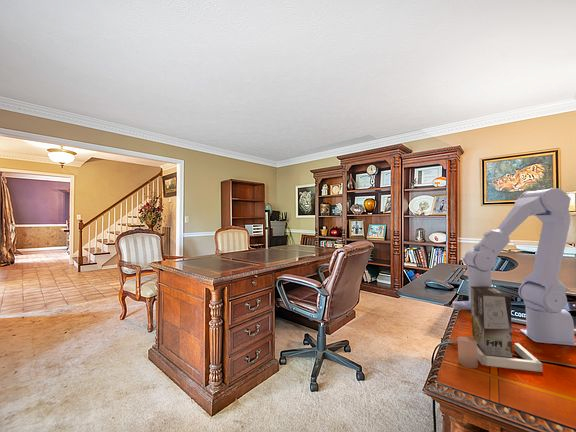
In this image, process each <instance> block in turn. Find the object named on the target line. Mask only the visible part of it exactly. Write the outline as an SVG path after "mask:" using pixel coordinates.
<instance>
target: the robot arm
mask: <svg viewBox="0 0 576 432" xmlns="http://www.w3.org/2000/svg"><path fill="white" fill-rule="evenodd" d="M570 203H571V197H570V196H569V195H568V194H567V193H566V191H564V190H563V189H561V188H559V187H558V188H557V187H552V188H547V189H540V190H533V191H532V190H529V191H528V190H527V191H524V192H523V193H522V194H520V196H519V198H517V199H516V200H515V201H514V206H513V207H512V209H511V210H510V211H509V212H508V213H507V215H506V216H505V218H504V219H503V220H502V221H501V223H500V224H499V225H498V227H497V228H496V229H490V230H488V231H486V232H484V234H483V238H482V239H481V240H480V241H478V243H477V244H475V245H474V246H473V249H469V250H468V251H466V253H465V254H464V257H462V262H463V263H464V265H465V266H466V267H467V268H466V270H467V281H468V283H467V284H468V285H467V286H468V300H462V301H457V300H456V301H455V300H454V301H452V308H453V309H454V310H457V311H458V310H466V311H467V310H468V312H469V313H470V314H471V316H472V312H471V289H470V286H475V287H479V286H487V287H493V286H492V269H493V268H495V266H496V264H497V258H498V256H499V255H500V253H501V252H502V251H503V250H504V249H505V248H506V247H507V246H508V244H510V242H511V240H510V235H511V234H512V233H513V232H514V231H515V230H516V229H518V227H520V225H522V224H523V223H524V222H525V221H526V220H527V219H528V218H529V217H531V216H534V217H536V218H537V219H538V220H539V221H541V223H542V225H541V230H540V234H539V240H538V244H537V249H536V253H535V259H534V263H533V267H532V268H533V269H532V272H531V273H530V274H527V275H526V276H524V278H523V281H522V284H520V286H519V287H518V296H519V297H520V298H521V299H522V300H523V304H524V306H525V321H526V322H525V323H526V328H525V329H524V328H521V329H519V331H520V332H521V333H522V334H524V335H525V336H526V337H528V338H529V339H531V340H532V342H534V343H542V344H543V343H544V344H552V345H553V344H554V345H564V346H566V345H567V346H573V347H575V346H576V341H575V340H576V339H575V325H574V320H573V319H574V318H573V316H572V315H571V313H570V312H569V311H568V310H566V309H565V308H566V307H567V304H568V298H567V295H566V292H567V291H566V290H567V287H566V286H565V284H563V282H562V281H561V280H560V279H559V275H560V271H561V267H562V263H563V258H564V252H565V248H566V243H567V239H568V235H569V234H568V233H569V229H570V225H571V219H572V218H571V214H570V210H569V209H570Z"/></svg>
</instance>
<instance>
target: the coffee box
mask: <svg viewBox="0 0 576 432" xmlns="http://www.w3.org/2000/svg"><path fill="white" fill-rule="evenodd" d="M470 289H471V312H472V315H471V327H472V328H471V330H472V332H471V333H472V338H473V339H475V340H476V341H477V344H478V345H479V346H478V345H477V346H478V348H479V349H480V350H481V351H482V353H483V354H484V355H485V356H495V357H504V358H513V334H512V333H513V329H512V327H513V326H512V296H511V295H509V294H507V293H506V292H504V291H503V290H501V289H499V288H497V287H495V286H492V287H487V286H479V287H475V286H470Z"/></svg>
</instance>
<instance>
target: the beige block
mask: <svg viewBox="0 0 576 432" xmlns="http://www.w3.org/2000/svg"><path fill="white" fill-rule="evenodd" d="M477 347H478V345H477V341H476V340H475V339H473V337H470V336H466V335H464V336H463V335H462V336H460V335H459V336H458V337H457V352H458V354H457V355H458V364H460V365H461V366H463V367H465V368H469V369H477V368H478V367H479V360H478V355H477Z"/></svg>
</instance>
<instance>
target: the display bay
mask: <svg viewBox="0 0 576 432" xmlns="http://www.w3.org/2000/svg"><path fill="white" fill-rule="evenodd" d="M513 348H514V349H513V350H514V352H515V353H517V355H519V357H521V358H515V357H514V358H513V357H512V358H510V357H502V356H493V355H485V354H484V352H483V351H482V350H481V349H480V347H479V346H477V355H478V362H479V363H480V364H481V365H482V366H487V367H496V368H504V369H512V370H513V369H514V370H522V371H529V372H530V371H531V372H539V373H543V363H542V362H541V361H540V360H539V359H537V357H535V356H534V355H533V354H532V353H531V352H529V351H528V350H527V349H526V348H525V347H524V346H522V345H521V344H520V343H519V342H514V343H513Z"/></svg>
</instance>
